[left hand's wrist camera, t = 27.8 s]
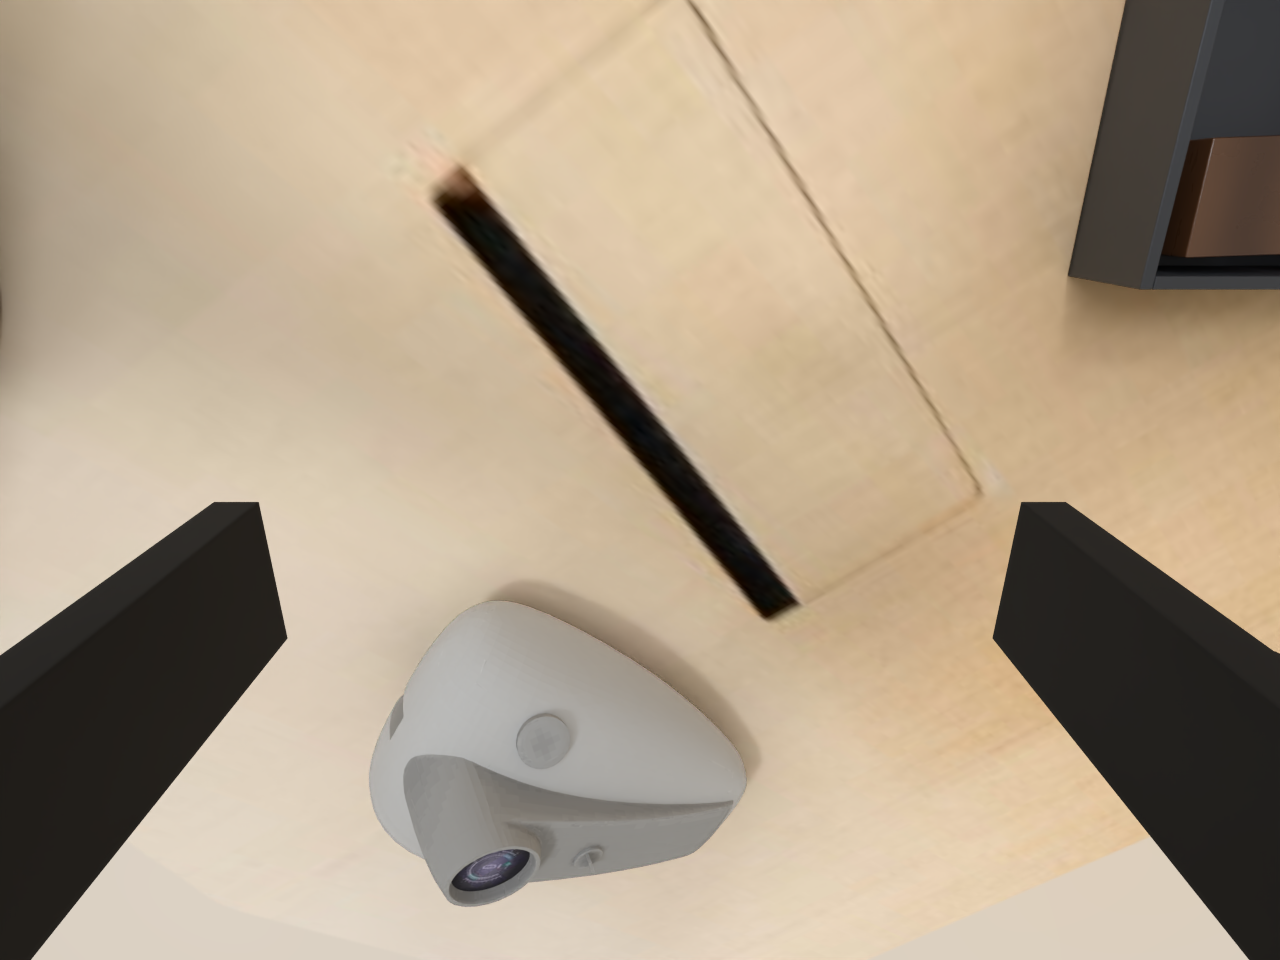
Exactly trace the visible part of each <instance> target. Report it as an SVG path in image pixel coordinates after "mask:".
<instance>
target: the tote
mask: <svg viewBox="0 0 1280 960" xmlns="http://www.w3.org/2000/svg"><path fill="white" fill-rule="evenodd" d="M1268 135H1280V0H1126V4H1125V8H1124V13H1123V18H1122V23H1121V27H1120V32H1119V37H1118V42H1117V46H1116V51H1115V56H1114V61H1113V65H1112V70H1111V75H1110V80H1109V84H1108V89H1107V94H1106V99H1105V103H1104V108H1103V113H1102V117H1101V122H1100V127H1099V132H1098V136H1097V141H1096V146H1095V151H1094V155H1093V160H1092V165H1091V170H1090V174H1089V179H1088V184H1087V189H1086V193H1085V198H1084V203H1083V208H1082V212H1081V217H1080V222H1079V226H1078V231H1077V236H1076V241H1075V245H1074V250H1073V255H1072V260H1071V264H1070V269H1069V274H1068V276H1070V277H1076V278H1081V279H1087V280H1092V281H1097V282H1103V283H1108V284H1114V285H1119V286H1124V287H1130V288H1135V289H1280V255H1257V256H1228V257H1199V258H1182V257H1173V256H1164V255H1161V252H1162V248H1163V244H1164V240H1165V237H1166V233H1167V229H1168V225H1169V221H1170V217H1171V213H1172V209H1173V205H1174V201H1175V197H1176V193H1177V189H1178V185H1179V181H1180V177H1181V174H1182V170H1183V166H1184V162H1185V158H1186V154H1187V150H1188V146H1189V142H1190V140H1194V139H1204V138H1214V137H1240V136H1268Z"/></svg>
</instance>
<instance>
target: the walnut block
mask: <svg viewBox="0 0 1280 960" xmlns="http://www.w3.org/2000/svg"><path fill="white" fill-rule="evenodd" d="M1161 255H1164V256H1173V257H1182V258H1199V257H1228V256H1257V255H1280V135H1268V136H1240V137H1214V138H1204V139H1194V140H1190V142H1189V146H1188V150H1187V154H1186V158H1185V162H1184V166H1183V170H1182V174H1181V177H1180V181H1179V185H1178V189H1177V193H1176V197H1175V201H1174V205H1173V209H1172V213H1171V217H1170V221H1169V225H1168V229H1167V233H1166V237H1165V240H1164V244H1163V248H1162V252H1161Z"/></svg>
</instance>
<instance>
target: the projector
mask: <svg viewBox="0 0 1280 960" xmlns="http://www.w3.org/2000/svg"><path fill="white" fill-rule="evenodd" d="M746 783H747V779H746V772H745V767H744V764H743V761H742V759H741V756H740V754H739V752H738V751H737V749H736V748H735V747H734V746H733V744H732V743H731V742H730V741H729V739H728V738H727V737H726V736H725V735H724V734H723V733H722V732H721V731H720V730H719V729H718V728H717V727H716V726H715V725H714V724H713V723H712V722H711V721H710V720H709V719H708V718H707V717H706V716H705V715H704V714H703V713H702V712H701V711H700V710H698V709H697V708H696V707H695V706H694V705H693V704H691V703H690V702H689V701H688V700H687V699H686V698H684V697H683V696H682V695H681V694H679V693H678V692H677V691H676V690H674V689H673V688H672V687H671V686H669V685H668V684H667V683H665V682H664V681H663V680H661V679H660V678H658V677H657V676H656V675H654V674H653V673H652V672H650V671H649V670H647V669H646V668H644V667H643V666H641V665H640V664H638V663H637V662H635V661H634V660H632V659H630V658H629V657H627V656H626V655H624V654H622V653H621V652H619V651H617V650H616V649H614V648H612V647H611V646H609V645H607V644H606V643H604V642H602V641H600V640H598V639H597V638H595V637H593V636H591V635H589V634H588V633H586V632H584V631H582V630H580V629H578V628H576V627H574V626H572V625H570V624H568V623H566V622H564V621H562V620H560V619H558V618H556V617H553V616H551V615H549V614H547V613H544V612H542V611H539V610H537V609H534V608H532V607H529V606H525V605H522V604H519V603H515V602H510V601H500V600H496V601H487V602H483V603H480V604H477V605H475V606H473V607H470V608H469V609H467V610H465V611H464V612H462V613H461V614H459V615H458V616H457V617H456V618H455V619H454V620H453V621H452V622H451V623H450V624H449V625H448V626H447V627H446V628H445V629H444V630H443V631H442V633H441V634H440V635H439V636H438V637H437V638H436V640H435V641H434V642H433V644H432V645H431V647H430V648H429V649H428V651H427V652H426V654H425V655H424V657H423V658H422V660H421V661H420V663H419V664H418V666H417V668H416V669H415V671H414V673H413V674H412V676H411V678H410V679H409V681H408V683H407V686H406V688H405V692H404V695H402V696H401V697H400V698H399V700H398V701H397V702H396V704H395V706H394V708H393V709H392V711H391V713H390V715H389V717H388V719H387V721H386V723H385V725H384V727H383V729H382V731H381V733H380V736H379V738H378V741H377V743H376V746H375V749H374V752H373V756H372V760H371V765H370V771H369V787H370V795H371V800H372V805H373V808H374V811H375V814H376V816H377V819H378V820H379V822H380V824H381V825H382V827H383V828H384V830H385V831H386V832H387V833H388V834H389V835H390V836H391V838H392V839H393V840H394V841H395V842H397V843H398V844H399V845H401V846H402V847H404V848H405V849H406V850H408V851H409V852H411V853H413V854H415V855H417V856H419V857H421V858H423V859H425V861H426V863H427V865H428V867H429V869H430V871H431V874H432V876H433V878H434V880H435V881H436V883H437V885H438V886H439V888H440V889H441V891H442V892H443V894H444V895H445V897H446V899H447V900H448V901H449V902H450V903H452V904H454V905H458V906H464V907H472V906H480V905H486V904H489V903H493V902H496V901H499V900H501V899H503V898H505V897H507V896H510V895H511V894H513V893H515V892H516V891H518V890H520V889H521V888H522V887H524V886H525V885H526V884H527V883H528V882H538V881H548V880H558V879H566V878H574V877H582V876H590V875H597V874H603V873H609V872H615V871H621V870H626V869H632V868H637V867H642V866H647V865H651V864H656V863H660V862H664V861H668V860H672V859H676V858H680V857H683V856H687V855H689V854H691V853H694V852H695V851H696V850H697V849H699V848H700V847H701V846H702V845H703V844H704V843H705V842H706V841H707V840H708V839H709V838H710V837H711V836H712V835H713V834H714V833H715V831H716V830H717V829H718V828H719V826H720V825H721V824H722V823H723V822H724V820H725V819H726V818H727V817H728V816H729V814H730V813H731V812H732V810H733V809H734V808H735V807H736V805H737V804H738V802H739V801H740V799H741V797H742V795H743V793H744V791H745V788H746Z"/></svg>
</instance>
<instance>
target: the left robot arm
mask: <svg viewBox="0 0 1280 960" xmlns="http://www.w3.org/2000/svg"><path fill="white" fill-rule="evenodd" d="M286 639H287V634H286V629H285V625H284V620H283V615H282V610H281V606H280V601H279V596H278V591H277V587H276V582H275V577H274V573H273V568H272V563H271V558H270V554H269V549H268V544H267V539H266V535H265V530H264V525H263V521H262V516H261V511H260V506H259V502H214V503H212V504H211V505H209V506H208V507H207V508H205V509H204V510H202V511H201V512H200V513H198V514H197V515H195V516H194V517H193V518H191V519H190V520H189V521H187V522H186V523H184V524H183V525H182V526H180V527H179V528H177V529H176V530H175V531H173V532H172V533H170V534H169V535H168V536H166V537H165V538H163V539H162V540H161V541H159V542H158V543H156V544H155V545H154V546H152V547H151V548H149V549H148V550H147V551H145V552H144V553H143V554H141V555H140V556H138V557H137V558H136V559H134V560H133V561H131V562H130V563H129V564H127V565H126V566H124V567H123V568H122V569H120V570H119V571H117V572H116V573H115V574H113V575H112V576H110V577H109V578H108V579H106V580H105V581H103V582H102V583H101V584H99V585H98V586H97V587H95V588H94V589H92V590H91V591H90V592H88V593H87V594H85V595H84V596H83V597H81V598H80V599H78V600H77V601H76V602H74V603H73V604H71V605H70V606H69V607H67V608H66V609H64V610H63V611H62V612H60V613H59V614H57V615H56V616H55V617H53V618H52V619H51V620H49V621H48V622H46V623H45V624H44V625H42V626H41V627H39V628H38V629H37V630H35V631H34V632H32V633H31V634H30V635H28V636H27V637H25V638H24V639H23V640H21V641H20V642H18V643H17V644H16V645H14V646H13V647H11V648H10V649H9V650H7V651H6V652H5V653H3V654H2V655H0V960H31V959H32V958H33V956H34V955H35V954H36V953H37V951H38V950H39V949H40V948H41V946H42V945H43V944H44V943H45V941H46V940H47V939H48V938H49V936H50V935H51V934H52V933H53V931H54V930H55V929H56V928H57V926H58V925H59V924H60V922H61V921H62V920H63V919H64V918H65V916H66V915H67V914H68V912H69V911H70V910H71V909H72V907H73V906H74V905H75V904H76V902H77V901H78V900H79V899H80V897H81V896H82V895H83V894H84V892H85V891H86V890H87V889H88V887H89V886H90V885H91V884H92V882H93V881H94V880H95V879H96V877H97V876H98V875H99V874H100V872H101V871H102V870H103V869H104V867H105V866H106V865H107V864H108V862H109V861H110V860H111V859H112V857H113V856H114V855H115V854H116V852H117V851H118V850H119V849H120V847H121V846H122V845H123V844H124V842H125V841H126V840H127V839H128V837H129V836H130V835H131V834H132V832H133V831H134V830H135V829H136V827H137V826H138V825H139V824H140V822H141V821H142V820H143V819H144V817H145V816H146V815H147V814H148V812H149V811H150V810H151V809H152V807H153V806H154V805H155V804H156V802H157V801H158V800H159V799H160V797H161V796H162V795H163V794H164V792H165V791H166V790H167V789H168V787H169V786H170V785H171V783H172V782H173V781H174V780H175V778H176V777H177V776H178V775H179V773H180V772H181V771H182V770H183V768H184V767H185V766H186V765H187V763H188V762H189V761H190V760H191V758H192V757H193V756H194V755H195V753H196V752H197V751H198V750H199V748H200V747H201V746H202V745H203V743H204V742H205V741H206V740H207V738H208V737H209V736H210V735H211V733H212V732H213V731H214V730H215V728H216V727H217V726H218V725H219V723H220V722H221V721H222V720H223V718H224V717H225V716H226V715H227V713H228V712H229V711H230V710H231V708H232V707H233V706H234V705H235V703H236V702H237V701H238V700H239V698H240V697H241V696H242V695H243V693H244V692H245V691H246V690H247V688H248V687H249V686H250V685H251V683H252V682H253V681H254V680H255V678H256V677H257V676H258V675H259V673H260V672H261V671H262V670H263V668H264V667H265V666H266V664H267V663H268V662H269V661H270V659H271V658H272V657H273V656H274V654H275V653H276V652H277V651H278V649H279V648H280V647H281V646H282V644H283V643H284V642H285V641H286ZM993 639H994V641H995V642H996V643H997V644H998V646H999V647H1000V648H1001V649H1002V651H1003V652H1004V653H1005V654H1006V656H1007V657H1008V658H1009V659H1010V661H1011V662H1012V663H1013V664H1014V666H1015V667H1016V668H1017V670H1018V671H1019V672H1020V673H1021V675H1022V676H1023V677H1024V678H1025V680H1026V681H1027V682H1028V683H1029V685H1030V686H1031V687H1032V688H1033V690H1034V691H1035V692H1036V693H1037V695H1038V696H1039V697H1040V698H1041V700H1042V701H1043V702H1044V703H1045V705H1046V706H1047V707H1048V708H1049V710H1050V711H1051V712H1052V713H1053V715H1054V716H1055V717H1056V718H1057V720H1058V721H1059V722H1060V723H1061V725H1062V726H1063V727H1064V728H1065V730H1066V731H1067V732H1068V733H1069V735H1070V736H1071V737H1072V738H1073V740H1074V741H1075V742H1076V743H1077V745H1078V746H1079V747H1080V748H1081V750H1082V751H1083V752H1084V753H1085V755H1086V756H1087V757H1088V758H1089V760H1090V761H1091V762H1092V763H1093V765H1094V766H1095V767H1096V768H1097V770H1098V771H1099V772H1100V773H1101V775H1102V776H1103V777H1104V778H1105V780H1106V781H1107V782H1108V783H1109V785H1110V786H1111V787H1112V789H1113V790H1114V791H1115V792H1116V794H1117V795H1118V796H1119V797H1120V799H1121V800H1122V801H1123V802H1124V804H1125V805H1126V806H1127V807H1128V809H1129V810H1130V811H1131V812H1132V814H1133V815H1134V816H1135V817H1136V819H1137V820H1138V821H1139V822H1140V824H1141V825H1142V826H1143V827H1144V829H1145V830H1146V831H1147V832H1148V834H1149V835H1150V836H1151V837H1152V839H1153V840H1154V841H1155V842H1156V844H1157V845H1158V846H1159V847H1160V849H1161V850H1162V851H1163V852H1164V854H1165V855H1166V856H1167V857H1168V859H1169V860H1170V861H1171V862H1172V864H1173V865H1174V866H1175V867H1176V869H1177V870H1178V871H1179V872H1180V874H1181V875H1182V876H1183V877H1184V879H1185V880H1186V881H1187V882H1188V884H1189V885H1190V886H1191V887H1192V889H1193V890H1194V891H1195V892H1196V894H1197V895H1198V896H1199V897H1200V899H1201V900H1202V901H1203V903H1204V904H1205V905H1206V906H1207V908H1208V909H1209V910H1210V911H1211V913H1212V914H1213V915H1214V916H1215V918H1216V919H1217V920H1218V921H1219V923H1220V924H1221V925H1222V926H1223V928H1224V929H1225V930H1226V931H1227V932H1228V934H1229V935H1230V936H1231V938H1232V939H1233V940H1234V941H1235V942H1236V944H1237V945H1238V946H1239V948H1240V949H1241V950H1242V951H1243V953H1244V954H1245V955H1246V956H1247V958H1248V959H1249V960H1280V654H1279V653H1277V652H1274V651H1273V650H1271V649H1270V648H1269V647H1267V646H1266V645H1264V644H1263V643H1262V642H1260V641H1259V640H1257V639H1256V638H1255V637H1253V636H1252V635H1250V634H1249V633H1248V632H1246V631H1245V630H1243V629H1242V628H1241V627H1239V626H1238V625H1236V624H1235V623H1234V622H1232V621H1231V620H1229V619H1228V618H1227V617H1225V616H1224V615H1223V614H1221V613H1220V612H1218V611H1217V610H1216V609H1214V608H1213V607H1211V606H1210V605H1209V604H1207V603H1206V602H1204V601H1203V600H1202V599H1200V598H1199V597H1197V596H1196V595H1195V594H1193V593H1192V592H1190V591H1189V590H1188V589H1186V588H1185V587H1183V586H1182V585H1181V584H1179V583H1178V582H1177V581H1175V580H1174V579H1172V578H1171V577H1170V576H1168V575H1167V574H1165V573H1164V572H1163V571H1161V570H1160V569H1158V568H1157V567H1156V566H1154V565H1153V564H1151V563H1150V562H1149V561H1147V560H1146V559H1144V558H1143V557H1142V556H1140V555H1139V554H1137V553H1136V552H1135V551H1133V550H1132V549H1131V548H1129V547H1128V546H1126V545H1125V544H1124V543H1122V542H1121V541H1119V540H1118V539H1117V538H1115V537H1114V536H1112V535H1111V534H1110V533H1108V532H1107V531H1105V530H1104V529H1103V528H1101V527H1100V526H1098V525H1097V524H1096V523H1094V522H1093V521H1091V520H1090V519H1089V518H1087V517H1086V516H1085V515H1083V514H1082V513H1080V512H1079V511H1078V510H1076V509H1075V508H1073V507H1072V506H1071V505H1069V504H1068V503H1066V502H1021V506H1020V511H1019V516H1018V521H1017V525H1016V530H1015V535H1014V539H1013V544H1012V549H1011V554H1010V558H1009V563H1008V568H1007V573H1006V577H1005V582H1004V587H1003V591H1002V596H1001V601H1000V606H999V610H998V615H997V620H996V625H995V629H994V634H993Z"/></svg>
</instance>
